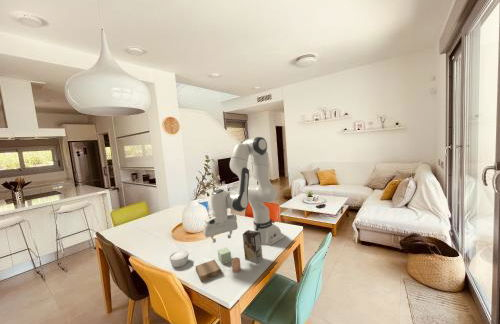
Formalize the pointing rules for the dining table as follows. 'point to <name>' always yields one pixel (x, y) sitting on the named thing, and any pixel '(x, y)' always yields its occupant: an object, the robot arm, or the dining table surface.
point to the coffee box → (252, 246)
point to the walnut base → (208, 270)
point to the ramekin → (179, 258)
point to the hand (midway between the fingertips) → (221, 240)
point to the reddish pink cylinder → (236, 265)
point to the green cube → (224, 255)
